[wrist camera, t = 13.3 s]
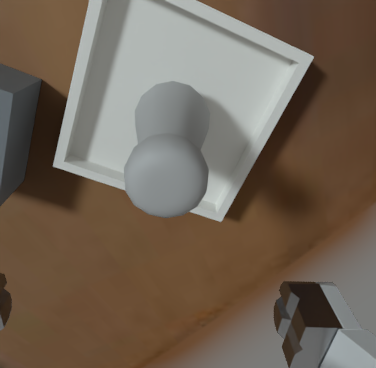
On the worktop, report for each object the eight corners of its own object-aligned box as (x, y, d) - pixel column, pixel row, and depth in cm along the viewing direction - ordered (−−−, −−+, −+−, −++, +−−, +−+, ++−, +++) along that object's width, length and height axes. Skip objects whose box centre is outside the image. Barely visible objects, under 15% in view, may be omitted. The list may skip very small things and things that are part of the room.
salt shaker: (216, 86, 25) (244, 150, 14) (197, 150, 28) (207, 246, 17) (145, 66, 24) (114, 117, 13) (132, 134, 27) (96, 224, 16)
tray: (218, 207, 32) (221, 222, 30) (62, 154, 29) (52, 166, 27) (302, 52, 25) (314, 56, 23) (107, -41, 22) (99, -46, 20)
